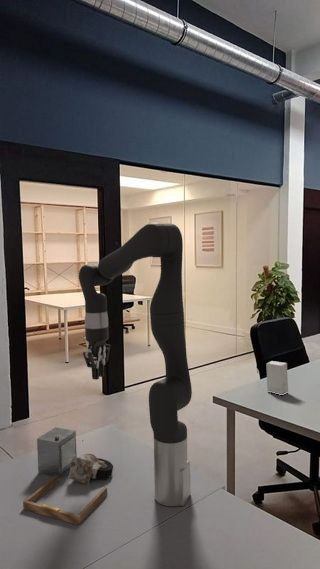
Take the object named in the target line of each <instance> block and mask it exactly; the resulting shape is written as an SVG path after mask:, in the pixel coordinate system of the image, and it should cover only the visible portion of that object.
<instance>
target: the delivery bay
mask: <svg viewBox="0 0 320 569" xmlns="http://www.w3.org/2000/svg"><path fill="white" fill-rule="evenodd" d="M58 483H59V478H58V476H54V477H52V478H50V479H49V480H48V481H47V482H46V483H44V484H43V485H42V486H41V487H39V488H38V489H37V490H36V491H35V492H33V493H32V494H31V495H30V496H29V495H28V497H27V498H26V499H24V500H23V501H22V508H23V510H26V511H29V512H33V513H36V514H40V515H43V516H46V517H51V518H53V519H57V520H60V521H64V522H66V523H67V522H68V523H70V524H74V525H77V526H80V525H81V523H82V522H83V521H84V520H85V519H86V518H87V517H88V516H89V515H90V514H91V512H93V510H95V509H96V507H97V506H99V504H100V503H101V502H103V501H102V500H104V499H105V498H106V496H107V495H108V487H107V486H104V487H103V488H102V489H101V490H100V491H99V492H98V493H97V494H96V495H95V496H94V497H93V498H92V499H91V501H89V502H88V503H87V505H86V506H85V507H83V509H82V510H81V511H80V512H79V513H78V514H77V513H74V512H69V511H66V510H62V509H60V507H55V506H52V505H50V504H42V503H37V501H38V500H39V499H41V497H43V496H44V495H46V493H47V492H49V490H51V489H52V488H54V486H56V485H57V484H58Z"/></svg>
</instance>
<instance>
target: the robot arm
mask: <svg viewBox="0 0 320 569" xmlns="http://www.w3.org/2000/svg"><path fill="white" fill-rule="evenodd" d="M183 246H184V244H183V235H182V232H181V229H180V228H179V227H178V226H177V225H176V224H174V223H168V222H167V223H166V222H149V223H146V224H145V225H143V226H142V227H141V228H140V229H139V230H138V231H137V232H135V234H134V235H133V236H131V238H129V239H128V240H127V241H126V242H125V243H124V244H123V245H121V246H120V247H119V248H117V249H116V250H114V251H113V252H111V253H109V254H107V255H106V256H104V257H103V258H102V259H100V261H99V262H98V263H97V264H85V265H83V266H81V267H80V269H79V271H78V282H79V284H80V288H81V290H82V294H83V298H84V306H85V307H84V312H85V314H84V333H85V336H84V337H85V341H86V342H88V346H87V350H86V351H83V353H82V356H83V358H84V361H85V363H86V367H87V368H91V378H92V380H95V381H96V380H99V379H100V378H102V377H105V365H106V363H108V362H109V356H110V351H111V347H112V346H111V344H107V341H108V340H109V338H110V336H109V316H108V300H107V295H106V294H104V293H102V292H101V293H100V292H98V291H97V290H96V287H101V286H106V285H108V284H110V283H112V282H113V280H115V278H117V277H119V276H120V275H122V274H124V273H126V272H127V271H129V270H130V269H131V268H132V266H133V264H134V263H135V262H137V261H139V260H142V259H147V258H160V276H159V280H158V283H157V286H156V287H155V288H156V289H155V291H154V293H153V296H152V298H151V300H150V301H151V302H150V305H149V316H150V317H149V318H150V328H151V333H152V336H153V338H154V340H155V342H156V344H157V346H158V347H159V349H160V351H161V354H162V355H163V358H164V365H165V377H164V378H163V379H160V380H157V381H156V382H154V383H153V384H151V385H150V388H149V390H148V392H149V393H148V409H149V423H150V427H151V429H152V433H153V466H154V467H153V473H154V474H153V475H154V482H153V483H154V498H155V500H156V502H157V503H158V504H160V505H162V506H165V507H178V506H180V507H184V506H185V504H186V502H187V501H188V499H189V497H190V495H191V461H190V460H188V428H187V425H186V424H185V423H184V422H183V421H179V417H178V411H180V410H183V409H184V408H185V407H187V406H188V405H189V404H190V402H191V401H192V400H191V399H192V396H193V395H192V394H193V390H192V382H191V377H190V370H189V364H188V356H187V343H186V330H185V329H186V327H185V326H186V325H185V310H184V300H183V299H184V298H183V297H184V296H183V250H184V249H183V248H184V247H183Z"/></svg>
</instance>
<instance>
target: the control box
mask: <svg viewBox="0 0 320 569" xmlns="http://www.w3.org/2000/svg"><path fill="white" fill-rule="evenodd" d="M36 446H37V472H38V474H40V475H45V476H49V477H52V478H53V477H54V476H58V479H61V478H62V477H63V476H64V475H65V474H66V473H68V472H70V468H71V464H72V459H73V456H75V457H78V456H77V432H76V430H73V429H67V428H63V427H58V426H55V427H53V428H52V429H50V430H49V431H47V432H45V433H44V434H41V436H39V437H38V438H36Z"/></svg>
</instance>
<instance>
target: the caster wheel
mask: <svg viewBox="0 0 320 569" xmlns="http://www.w3.org/2000/svg"><path fill="white" fill-rule="evenodd" d="M113 469H114V464H113V463H112V462H110V461H109V460H107V459H104V458H99V457H97V456H95V454H93V453H86V454H85V453H84V454H83V455H81V456H79V457H78V456H77V457H75V456H73V459H72V464H71V468H70V470H69V471H68V472H69V473H68V476H67V478H68V479H69V480H72V481H76V482H78V483H80V484H84V485H87V486H89V485H90V481H91V479H108V478H110V477H111V476H112V475H113Z"/></svg>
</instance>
